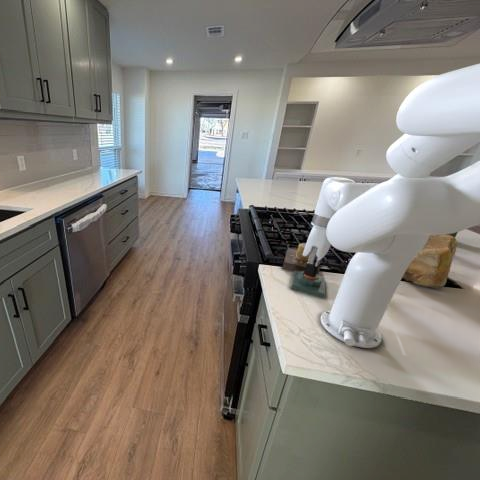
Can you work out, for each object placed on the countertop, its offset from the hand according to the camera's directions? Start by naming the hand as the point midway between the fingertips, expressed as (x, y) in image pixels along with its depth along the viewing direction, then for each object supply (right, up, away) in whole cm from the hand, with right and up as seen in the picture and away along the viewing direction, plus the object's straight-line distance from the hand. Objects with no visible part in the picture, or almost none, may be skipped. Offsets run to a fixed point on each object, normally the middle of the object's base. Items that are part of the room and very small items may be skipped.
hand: (309, 274), depth 81 cm
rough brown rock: (+43, -1, +10) cm, 44 cm away
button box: (0, -4, +1) cm, 4 cm away
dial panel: (+4, +2, +14) cm, 15 cm away
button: (0, -2, 0) cm, 2 cm away
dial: (+5, +5, +12) cm, 14 cm away
